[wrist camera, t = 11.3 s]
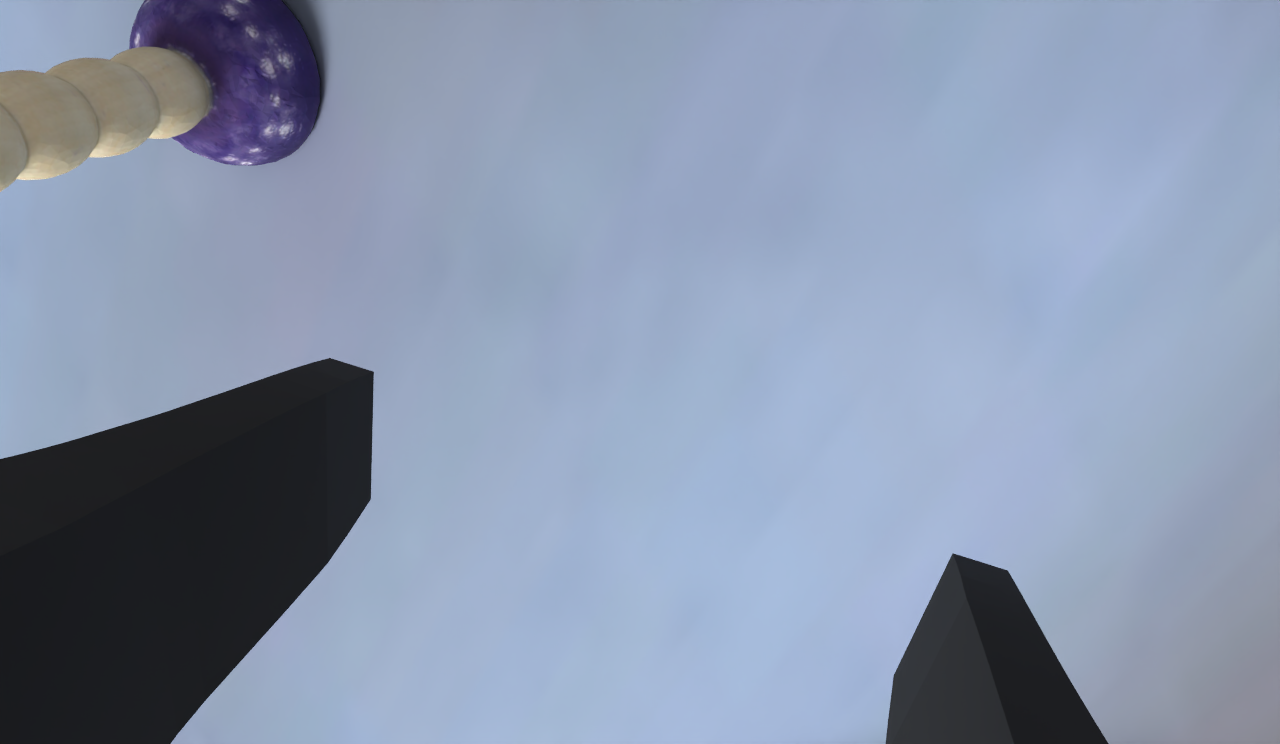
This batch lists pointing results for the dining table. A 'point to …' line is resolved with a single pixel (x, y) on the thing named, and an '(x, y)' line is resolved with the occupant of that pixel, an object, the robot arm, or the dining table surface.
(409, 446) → the dining table surface
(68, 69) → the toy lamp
